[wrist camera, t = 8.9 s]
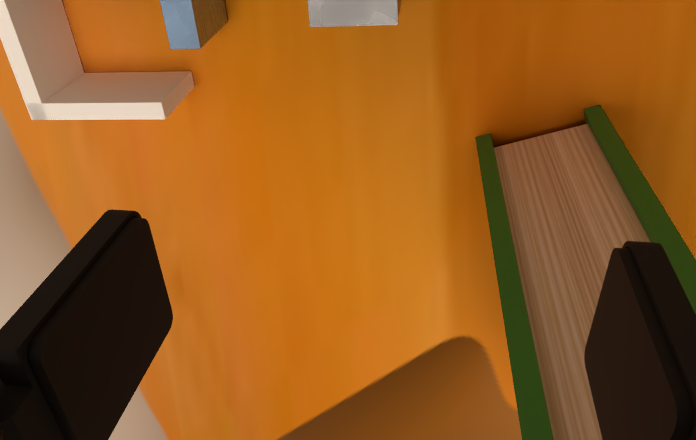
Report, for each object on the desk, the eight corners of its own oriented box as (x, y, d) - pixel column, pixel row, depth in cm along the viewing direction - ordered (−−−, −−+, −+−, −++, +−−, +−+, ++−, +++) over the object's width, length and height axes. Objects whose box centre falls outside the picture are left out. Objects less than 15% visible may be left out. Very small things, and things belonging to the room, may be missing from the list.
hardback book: (475, 137, 37) (531, 500, 17) (599, 104, 35) (827, 473, 15) (527, 335, 46) (604, 726, 26) (629, 318, 43) (797, 730, 24)
